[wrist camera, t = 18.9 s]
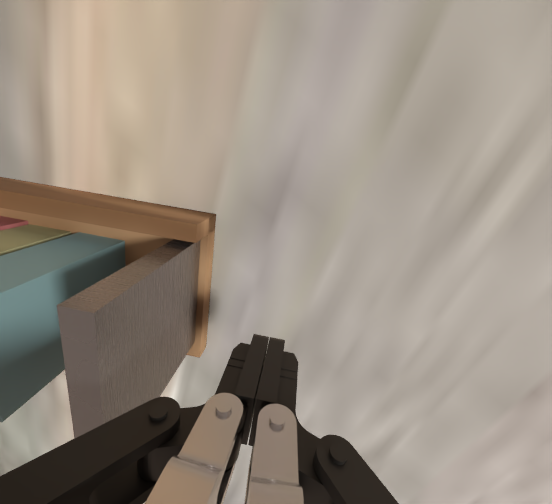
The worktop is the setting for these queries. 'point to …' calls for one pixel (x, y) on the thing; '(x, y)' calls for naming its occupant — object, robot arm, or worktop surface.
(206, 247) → the tray
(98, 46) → the worktop surface
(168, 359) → the bookend
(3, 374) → the light blue block
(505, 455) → the worktop surface
